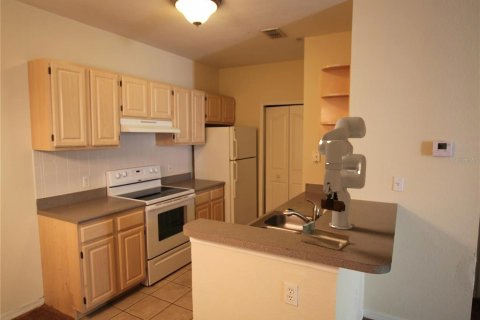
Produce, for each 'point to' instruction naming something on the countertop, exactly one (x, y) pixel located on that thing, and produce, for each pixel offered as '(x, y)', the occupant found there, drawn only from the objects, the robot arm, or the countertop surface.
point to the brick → (338, 205)
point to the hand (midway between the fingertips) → (332, 206)
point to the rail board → (323, 237)
